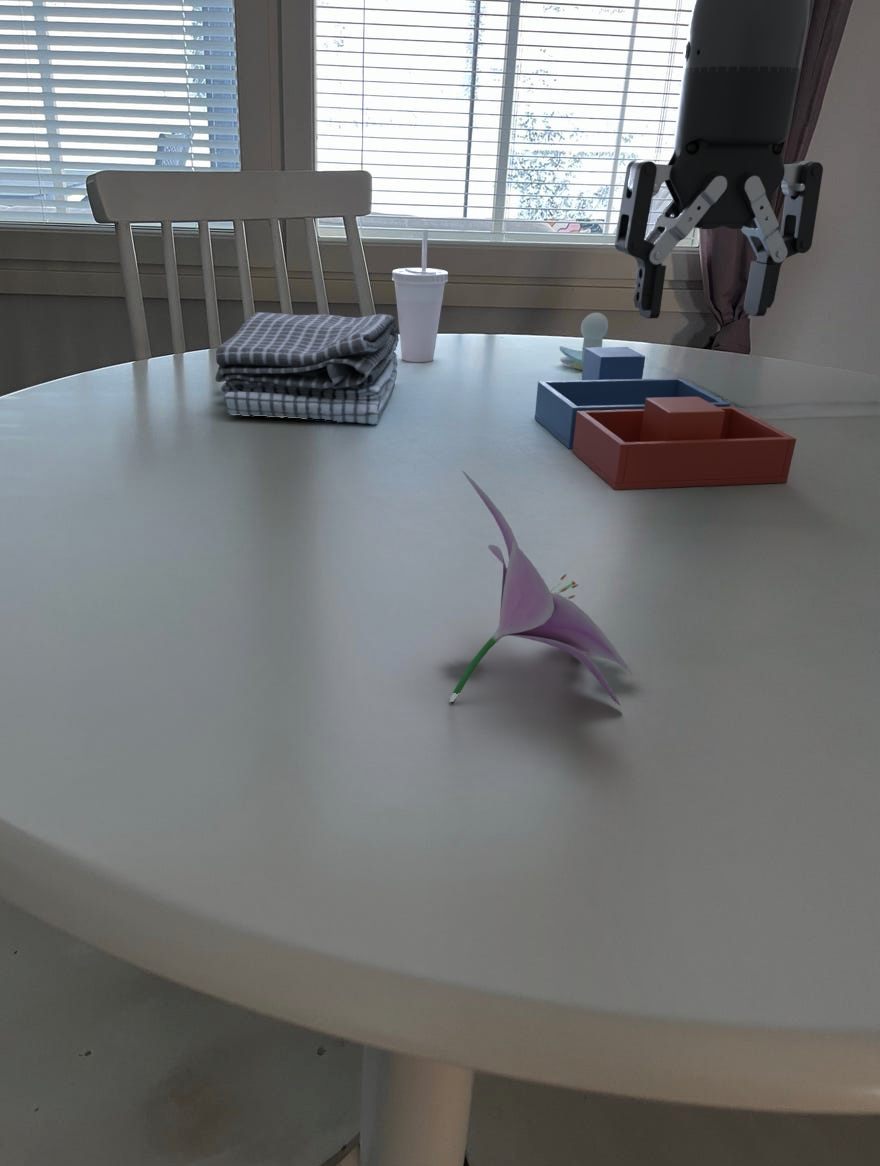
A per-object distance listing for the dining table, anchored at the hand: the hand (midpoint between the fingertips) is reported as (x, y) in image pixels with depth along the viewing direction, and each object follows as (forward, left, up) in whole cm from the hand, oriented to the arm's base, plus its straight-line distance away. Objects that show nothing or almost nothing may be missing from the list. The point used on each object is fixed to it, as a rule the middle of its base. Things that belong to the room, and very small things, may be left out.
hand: (701, 315), depth 71 cm
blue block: (-3, -22, -12) cm, 25 cm away
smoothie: (+13, -42, -12) cm, 46 cm away
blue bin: (0, -10, -12) cm, 16 cm away
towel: (+27, -24, -12) cm, 38 cm away
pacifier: (-6, -36, -12) cm, 38 cm away
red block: (0, 0, -11) cm, 11 cm away
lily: (+22, +32, -12) cm, 41 cm away
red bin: (0, 0, -12) cm, 12 cm away
